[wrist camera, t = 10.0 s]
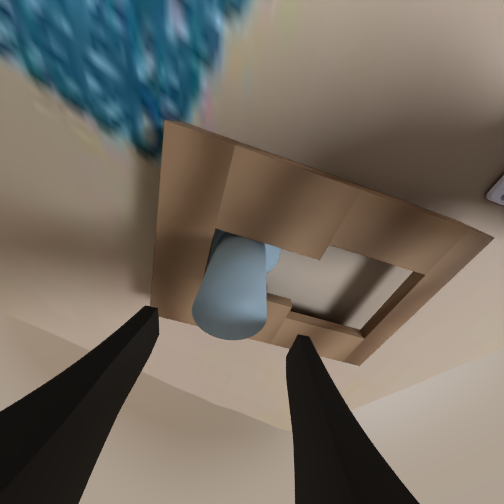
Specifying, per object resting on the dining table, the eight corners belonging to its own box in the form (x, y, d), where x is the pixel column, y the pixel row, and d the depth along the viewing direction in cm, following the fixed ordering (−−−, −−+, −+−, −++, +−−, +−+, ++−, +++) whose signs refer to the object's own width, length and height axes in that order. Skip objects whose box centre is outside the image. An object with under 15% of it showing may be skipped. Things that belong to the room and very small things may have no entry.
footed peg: (286, 212, 17) (304, 277, 9) (271, 274, 20) (276, 358, 13) (208, 200, 16) (164, 257, 9) (206, 265, 20) (172, 345, 12)
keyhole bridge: (458, 220, 16) (494, 237, 14) (349, 340, 24) (359, 365, 22) (183, 121, 14) (164, 120, 11) (162, 292, 22) (149, 314, 19)
